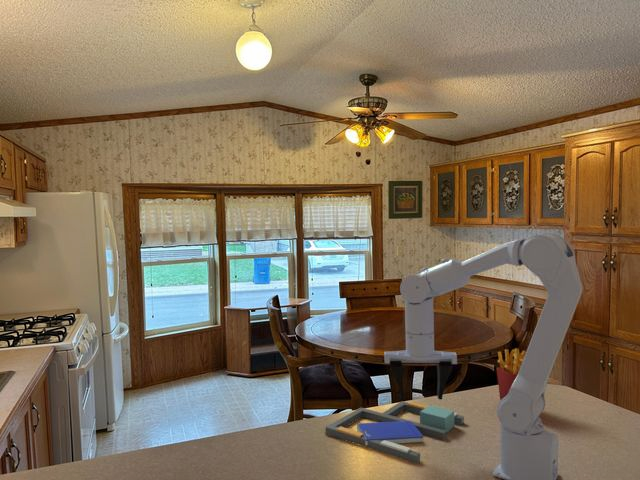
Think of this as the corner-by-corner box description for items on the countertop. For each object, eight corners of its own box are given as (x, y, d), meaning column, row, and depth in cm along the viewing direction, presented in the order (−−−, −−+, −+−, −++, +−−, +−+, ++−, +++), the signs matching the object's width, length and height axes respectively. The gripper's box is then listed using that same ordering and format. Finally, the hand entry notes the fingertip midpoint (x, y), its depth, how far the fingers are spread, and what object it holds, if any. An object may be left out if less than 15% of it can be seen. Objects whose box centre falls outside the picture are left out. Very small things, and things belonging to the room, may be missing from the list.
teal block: (454, 426, 109) (454, 410, 108) (445, 433, 105) (445, 418, 104) (429, 419, 112) (429, 404, 112) (420, 427, 108) (420, 411, 108)
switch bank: (463, 422, 110) (463, 414, 110) (446, 437, 103) (446, 428, 103) (401, 407, 120) (401, 399, 120) (382, 419, 113) (382, 411, 113)
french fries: (515, 416, 113) (515, 353, 113) (490, 404, 121) (490, 345, 121) (543, 410, 117) (543, 349, 116) (517, 399, 124) (518, 342, 124)
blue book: (365, 438, 99) (423, 435, 100) (356, 422, 107) (410, 419, 109) (365, 446, 99) (423, 443, 101) (356, 429, 107) (410, 426, 109)
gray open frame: (446, 437, 103) (446, 428, 103) (416, 463, 92) (416, 454, 92) (360, 413, 116) (360, 405, 116) (325, 433, 105) (325, 425, 105)
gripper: (452, 327, 102) (453, 391, 102) (383, 327, 103) (384, 390, 104) (458, 335, 95) (459, 403, 95) (384, 335, 96) (385, 402, 97)
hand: (420, 397), depth 99 cm, fingers open, 7 cm apart
